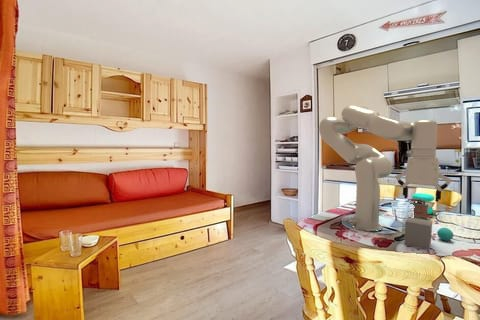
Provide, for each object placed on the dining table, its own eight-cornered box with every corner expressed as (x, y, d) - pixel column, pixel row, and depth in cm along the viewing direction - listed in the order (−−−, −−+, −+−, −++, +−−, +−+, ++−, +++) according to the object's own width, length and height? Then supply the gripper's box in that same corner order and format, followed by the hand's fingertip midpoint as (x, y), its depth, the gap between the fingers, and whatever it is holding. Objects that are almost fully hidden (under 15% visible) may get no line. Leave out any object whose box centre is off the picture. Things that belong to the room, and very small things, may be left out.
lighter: (427, 218, 134) (428, 199, 133) (427, 220, 131) (428, 200, 130) (408, 216, 138) (409, 197, 138) (408, 217, 136) (409, 198, 135)
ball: (442, 242, 102) (443, 229, 102) (434, 237, 107) (434, 225, 107) (456, 243, 102) (457, 230, 102) (447, 238, 107) (447, 226, 106)
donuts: (414, 195, 143) (410, 192, 152) (413, 213, 143) (410, 209, 153) (436, 197, 139) (431, 193, 148) (435, 215, 139) (430, 211, 148)
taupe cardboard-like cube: (429, 249, 95) (430, 225, 95) (404, 244, 100) (405, 221, 100) (430, 243, 101) (432, 221, 101) (407, 238, 106) (408, 217, 105)
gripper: (394, 153, 101) (392, 198, 102) (452, 155, 90) (450, 204, 91) (398, 153, 106) (396, 195, 108) (453, 154, 95) (450, 201, 97)
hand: (421, 199), depth 99 cm, fingers open, 9 cm apart
